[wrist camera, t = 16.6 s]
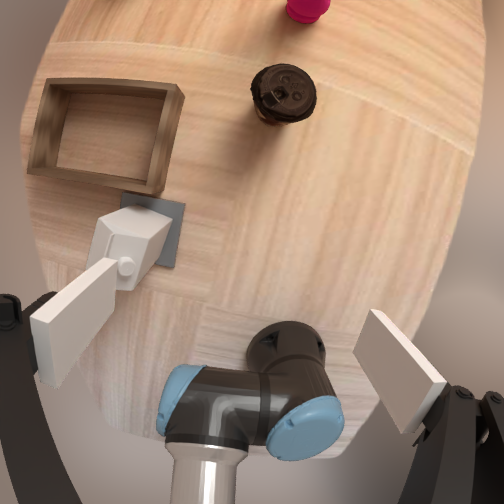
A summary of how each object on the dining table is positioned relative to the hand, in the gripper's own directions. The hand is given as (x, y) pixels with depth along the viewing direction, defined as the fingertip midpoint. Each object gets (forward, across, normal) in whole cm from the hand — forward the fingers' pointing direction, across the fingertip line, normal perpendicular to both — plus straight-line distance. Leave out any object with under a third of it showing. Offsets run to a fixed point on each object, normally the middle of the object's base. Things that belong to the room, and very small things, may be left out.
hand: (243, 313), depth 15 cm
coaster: (+37, +14, +6) cm, 40 cm away
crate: (+37, +24, -9) cm, 45 cm away
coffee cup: (+37, -2, -18) cm, 41 cm away
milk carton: (+36, +14, +6) cm, 39 cm away
